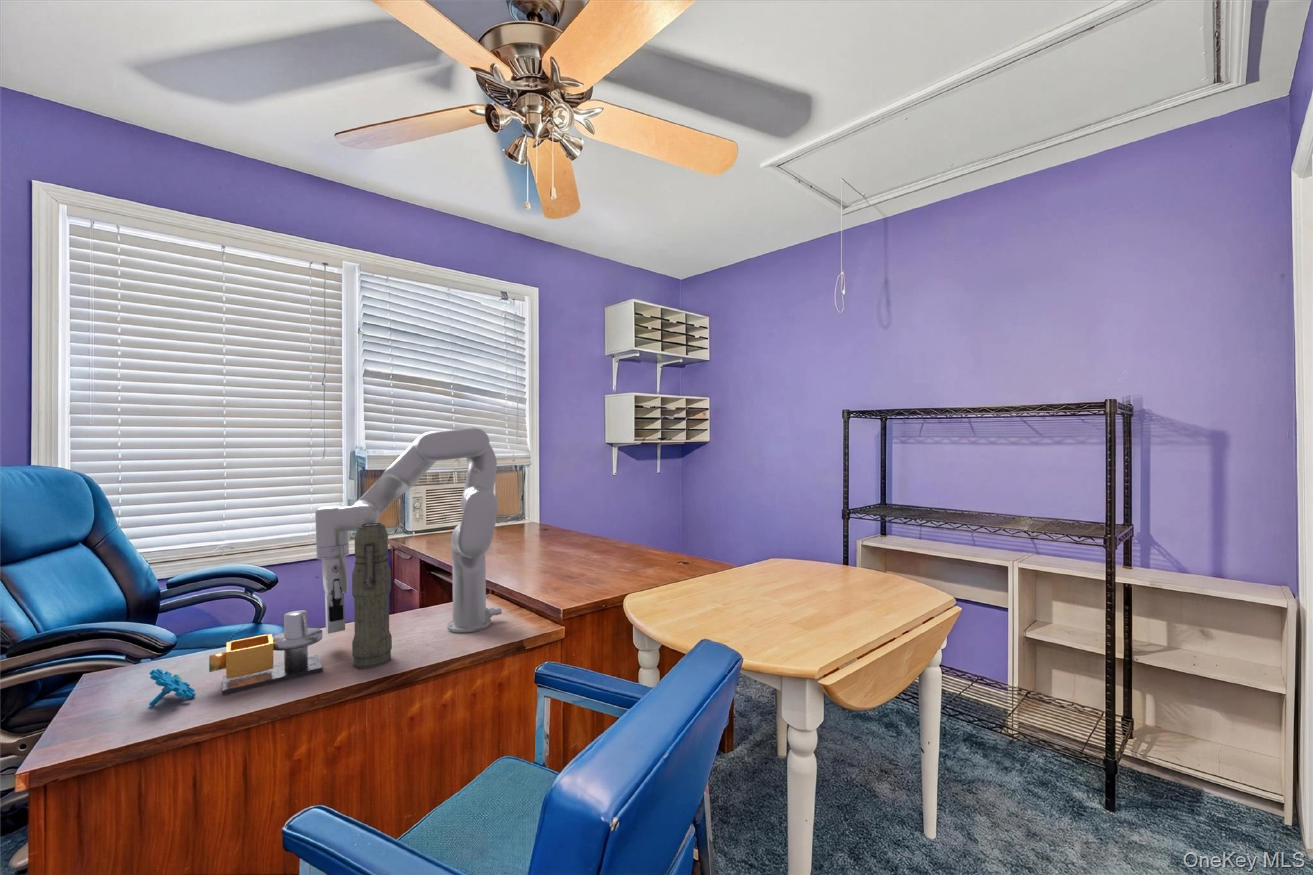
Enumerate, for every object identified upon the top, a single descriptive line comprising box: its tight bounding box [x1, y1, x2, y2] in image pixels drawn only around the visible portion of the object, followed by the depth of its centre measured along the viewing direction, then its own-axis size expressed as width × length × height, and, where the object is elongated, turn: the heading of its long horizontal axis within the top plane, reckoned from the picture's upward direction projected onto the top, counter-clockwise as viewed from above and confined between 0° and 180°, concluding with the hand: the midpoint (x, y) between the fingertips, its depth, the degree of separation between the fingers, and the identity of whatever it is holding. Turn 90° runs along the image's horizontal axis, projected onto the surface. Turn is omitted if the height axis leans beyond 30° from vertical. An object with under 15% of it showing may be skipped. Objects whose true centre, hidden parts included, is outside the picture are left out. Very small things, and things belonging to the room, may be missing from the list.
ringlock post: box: [208, 609, 324, 696], centre depth 127 cm, size 22×11×14 cm, turn 128°
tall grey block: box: [324, 591, 346, 634], centre depth 144 cm, size 4×4×10 cm
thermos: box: [351, 522, 393, 669], centre depth 135 cm, size 9×12×35 cm
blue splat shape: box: [148, 668, 197, 708], centre depth 115 cm, size 11×6×10 cm
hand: (335, 617), depth 144 cm, fingers closed on tall grey block, 3 cm apart
